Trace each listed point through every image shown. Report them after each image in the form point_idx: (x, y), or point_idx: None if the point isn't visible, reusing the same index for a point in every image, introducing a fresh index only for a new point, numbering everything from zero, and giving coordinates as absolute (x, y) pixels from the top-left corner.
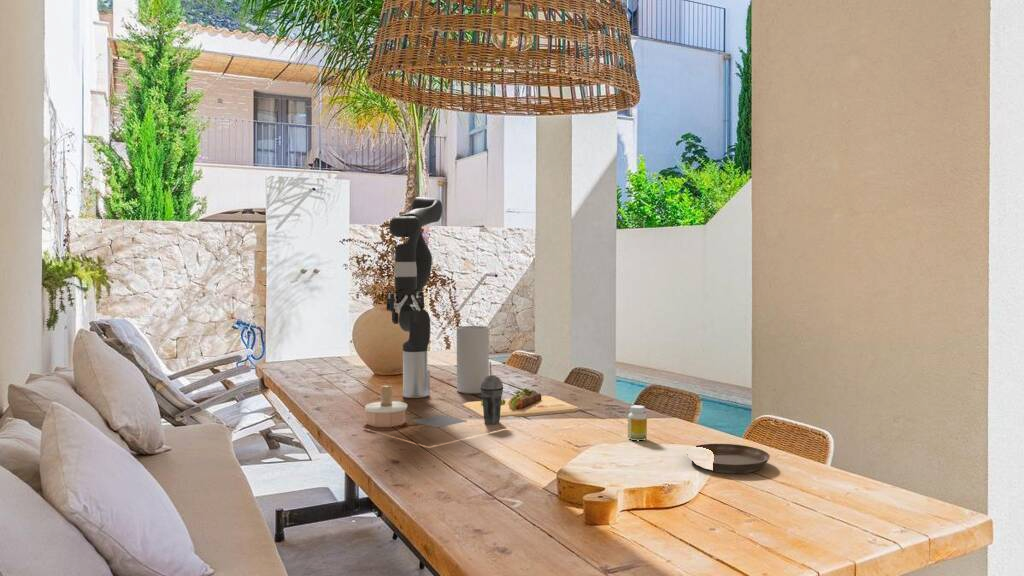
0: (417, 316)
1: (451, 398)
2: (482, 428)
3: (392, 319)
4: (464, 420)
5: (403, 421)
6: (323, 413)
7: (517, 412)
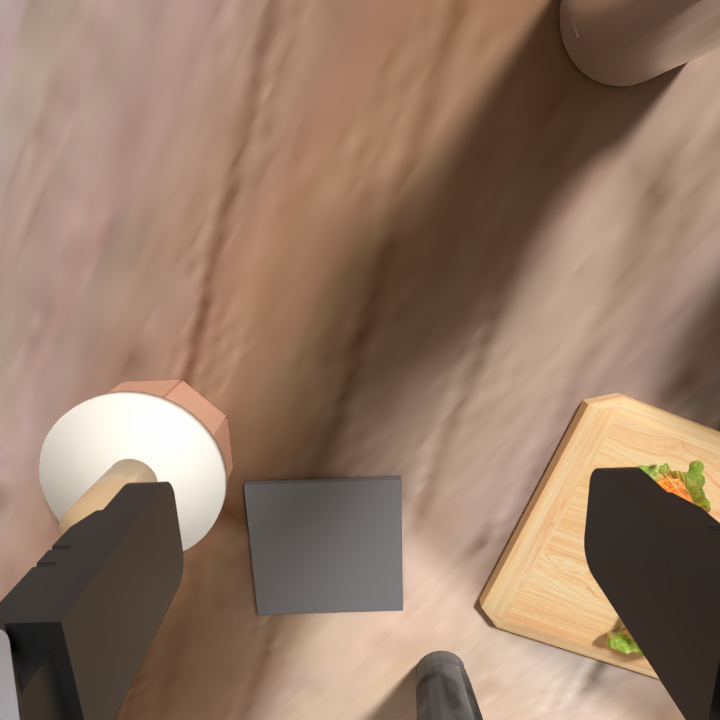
0: (647, 638)
1: (701, 211)
2: (383, 683)
3: (60, 557)
4: (397, 601)
5: None
6: (24, 67)
7: (600, 654)
